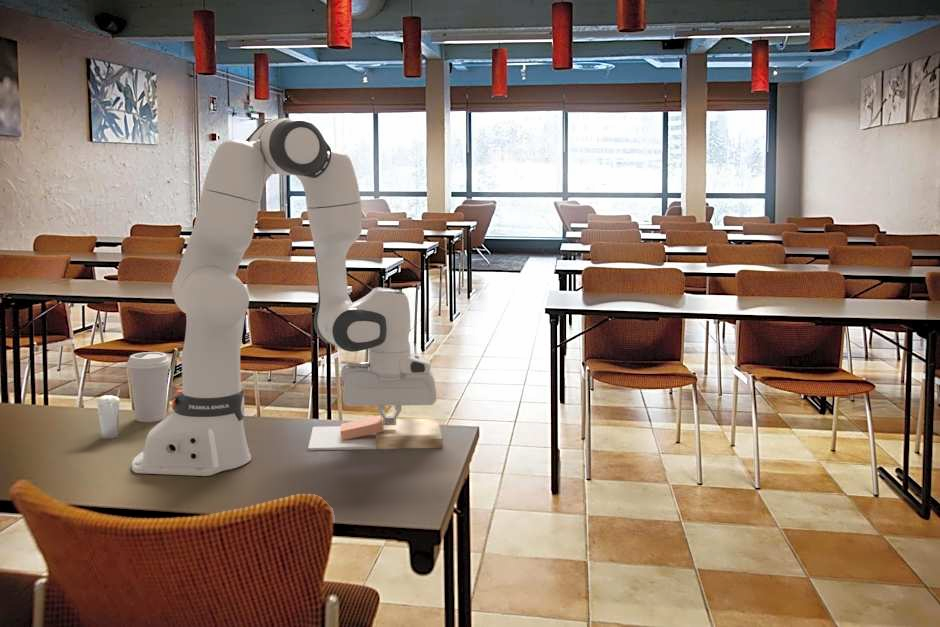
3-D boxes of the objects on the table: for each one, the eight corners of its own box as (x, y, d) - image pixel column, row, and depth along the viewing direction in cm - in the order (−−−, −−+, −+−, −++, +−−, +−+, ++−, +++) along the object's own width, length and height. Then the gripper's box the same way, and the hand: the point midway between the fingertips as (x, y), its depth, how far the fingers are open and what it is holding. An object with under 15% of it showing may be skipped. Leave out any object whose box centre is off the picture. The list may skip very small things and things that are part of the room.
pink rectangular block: (342, 440, 194) (340, 431, 194) (343, 432, 200) (341, 423, 200) (383, 431, 195) (381, 422, 195) (383, 423, 201) (381, 415, 201)
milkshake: (128, 435, 198) (126, 390, 197) (107, 440, 194) (105, 395, 192) (115, 431, 201) (113, 387, 199) (94, 437, 196) (91, 392, 195)
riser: (375, 449, 190) (375, 439, 190) (375, 427, 206) (375, 419, 206) (442, 447, 192) (442, 438, 192) (437, 426, 208) (437, 418, 207)
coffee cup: (149, 411, 218) (146, 349, 215) (181, 415, 214) (178, 353, 212) (119, 421, 209) (116, 357, 207) (152, 426, 205) (150, 361, 203)
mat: (308, 450, 189) (308, 448, 189) (313, 428, 205) (313, 426, 205) (375, 449, 190) (375, 446, 190) (375, 427, 206) (375, 425, 206)
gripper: (340, 365, 192) (340, 429, 194) (437, 365, 194) (436, 428, 196) (341, 359, 198) (342, 421, 200) (435, 359, 200) (434, 420, 202)
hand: (389, 424), depth 198 cm, fingers closed
